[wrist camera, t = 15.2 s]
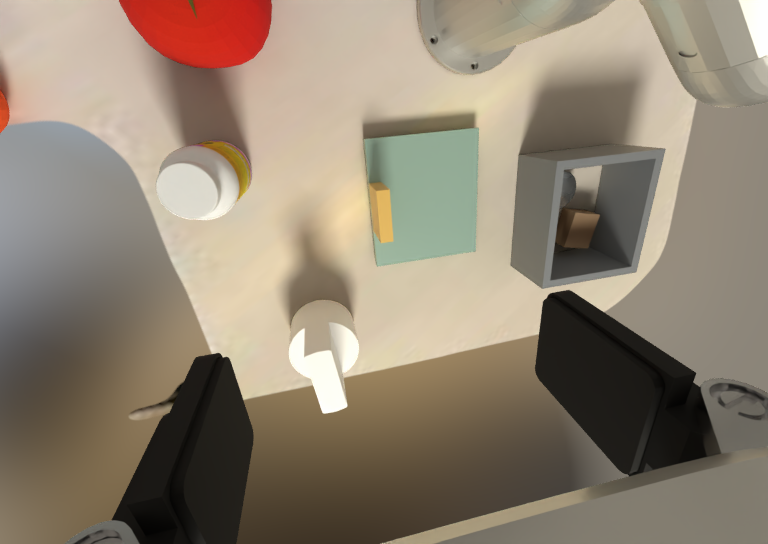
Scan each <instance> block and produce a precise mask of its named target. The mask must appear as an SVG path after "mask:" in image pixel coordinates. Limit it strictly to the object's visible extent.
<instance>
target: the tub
mask: <svg viewBox="0 0 768 544" xmlns="http://www.w3.org/2000/svg"><path fill="white" fill-rule="evenodd" d="M664 153H665V149H664V148H652V147H641V146H630V145H618V144H608V145H600V146H591V147H582V148H573V149H565V150H556V151H547V152H538V153H530V154H521V155H519V159H518V172H517V186H516V200H515V213H514V227H513V240H512V254H511V266H512V267H513V268H515V269H516V270H517V271H519V272H520V273H521V274H523V275H524V276H526V277H527V278H528V279H530V280H531V281H532V282H534V283H535V284H536V285H538V286H539V287H541V288H542V289H544V288H549V287H555V286H561V285H566V284H572V283H578V282H584V281H589V280H595V279H601V278H606V277H612V276H618V275H623V274H629V273H635V272H636V271H637V267H638V263H639V259H640V254H641V250H642V246H643V242H644V237H645V233H646V229H647V225H648V221H649V216H650V212H651V208H652V204H653V199H654V195H655V191H656V187H657V183H658V178H659V174H660V170H661V166H662V162H663V157H664ZM599 165H603V167H602V173H601V178H600V184H599V190H598V196H597V202H596V208H595V213H596V214H599V215H600V216H599V219H598V222H597V225H596V227H595V230H594V233H593V236H592V238H591V241H590V244H589V247H588V248H580V249H573V250H567V251H561V252H555V253H554V246H555V238H556V231H557V223H558V215H559V207H560V199H561V191H562V183H563V175H564V170H567V169H575V168H583V167H591V166H599Z"/></svg>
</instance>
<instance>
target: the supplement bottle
mask: <svg viewBox="0 0 768 544" xmlns="http://www.w3.org/2000/svg"><path fill="white" fill-rule="evenodd" d="M251 180H252V170H251V166H250V163H249V161H248V159H247V157H246V156H245V154H244V153H243V152H242V151H241V150H240V149H238V148H237V147H236V146H234V145H232V144H230V143H228V142H225V141H220V140H212V141H206V142H202V143H198V144H194V145H191V146H187V147H183V148H180V149H177V150H175V151H173V152H172V153H171V154H169V155H168V156H167V157H166V158H165V160H164V161H163V163H162V165H161V167H160V171H159V175H158V178H157V181H156V192H157V195H158V198H159V200H160V202H161V203H162V204H163V206H164V207H165V208H166V209H167V210H168V211H170V212H171V213H172V214H174V215H176V216H178V217H181V218H184V219H197V220H211V219H215V218H218V217H221V216H223V215H224V214H226V213H227V212H228V211H230V209H231V208H232V207H233V206H234V205H235V204H236V202H237V201H238V200H239V199H240V198H241V197H242V196H243V194H244V193H245V192H246V191H247V189H248V188H249V186H250V183H251Z"/></svg>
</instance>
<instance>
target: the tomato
mask: <svg viewBox="0 0 768 544" xmlns="http://www.w3.org/2000/svg"><path fill="white" fill-rule="evenodd" d="M119 2H120V4H121V6H122V8H123V10H124V12H125V13H126V15H127V17H128V19H129V21H130V22H131V24H132V25H133V26H134V28H135V29H136V30H137V31H138V32H139V33H140V35H141V36H142V37H143V38H144V39H145V41H146V42H147V43H148V44H149V45H150V46H152V47H153V48H154V49H155V50H157V51H158V52H159V53H161V54H162V55H163V56H165V57H167V58H170V59H172V60H174V61H176V62H178V63H181V64H185V65H189V66H192V67H198V68H224V67H231V66H236V65H241V64H243V63H245V62H247V61H249V60H251V59H253V58H254V57H255V56H256V55H257V54H258V52H259V51H260V50H261V49H262V47H263V45H264V43H265V41H266V39H267V37H268V34H269V29H270V25H271V13H272V4H271V0H119Z"/></svg>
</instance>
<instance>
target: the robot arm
mask: <svg viewBox="0 0 768 544" xmlns="http://www.w3.org/2000/svg"><path fill="white" fill-rule="evenodd" d="M613 1H614V0H418V2H417V16H418V23H419V29H420V33H421V36H422V38H423V41H424V44H425V45H426V47H427V49H428V51H429V52H430V54H431V55H432V56H433V57H434V59H435V60H436V61H437V62H438V63H439V64H441V65H442V66H443V67H445V68H446V69H448V70H450V71H452V72H454V73H459V74H463V75H472V74H478V73H482V72H485V71H488V70H490V69H492V68H494V67H496V66H497V65H499V64H500V63H501V62H502V61H504V60H505V59H506V58H507V57H508V56H509V55H510V53H511V52H512V51H513V50H514V48H515V47H516V45H518V44H521V43H524V42H527V41H530V40H533V39H536V38H539V37H541V36H544V35H547V34H550V33H553V32H556V31H559V30H562V29H565V28H567V27H570V26H572V25H575V24H578V23H581V22H583V21H585V20H587V19H590V18H591V17H593V16H595V15H597V14H598V13H599V12H601V11H602V10H604V9H605V8H606V7H608V6H609V5H610V4H611V3H612V2H613ZM639 2H640V3H641V4H642V5H643V6H644V8H645V10H646V13H647V15H648V17H649V19H650V21H651V23H652V25H653V27H654V30H655V32H656V34H657V36H658V38H659V40H660V42H661V44H662V47H663V49H664V51H665V53H666V55H667V57H668V59H669V61H670V64H671V65H672V67H673V69H674V71H675V73H676V75H677V77H678V78H679V80H680V82H681V84H682V85H683V87H684V88H685V89H686V91H687V92H688V93H689V94H690V95H691V96H693V97H694V98H695V99H697V100H698V101H700V102H702V103H704V104H707V105H711V106H716V107H743V106H752V105H757V104H762V103H767V102H768V0H639ZM430 39H433V41H434V42H433V44H432V43H431V41H430ZM471 64H472V65H473V69H472V68H471ZM535 371H536V375H537V377H538V379H539V380H540V381H541V382H542V383H543V385H544V386H545V387H546V388H547V389H548V390H549V391H550V393H551V394H552V395H553V396H554V397H555V398H556V399H557V401H558V402H559V403H560V404H561V405H562V406H563V407H564V408H565V410H567V412H568V413H569V414H570V415H571V416H572V418H573V419H574V420H575V421H576V422H577V423H578V424H579V425H580V426H581V428H582V429H583V430H584V431H585V432H586V433H587V434H588V436H589V437H590V438H591V439H592V440H593V441H594V442H595V444H596V445H597V446H598V447H599V448H600V449H601V450H602V451H603V452H604V454H605V455H606V456H607V457H608V458H609V459H610V461H611V462H612V463H613V464H614V465H615V466H616V467H617V468H618V469H619V470H620V471H621V472H622V473H624V474H628V475H629V477H626V478H622V479H618V480H614V481H610V482H607V483H603V484H599V485H595V486H591V487H588V488H584V489H580V490H576V491H573V492H569V493H565V494H561V495H557V496H554V497H550V498H546V499H543V500H539V501H535V502H532V503H528V504H524V505H521V506H517V507H513V508H509V509H506V510H502V511H498V512H495V513H491V514H487V515H484V516H480V517H476V518H473V519H469V520H465V521H462V522H458V523H454V524H451V525H447V526H443V527H440V528H436V529H432V530H429V531H425V532H422V533H418V534H415V535H411V536H407V537H404V538H400V539H396V540H393V541H389V542H386V543H382V544H768V393H767V392H765V391H763V390H761V389H759V388H756V387H754V386H752V385H749V384H747V383H743V382H739V381H735V380H730V379H723V378H720V379H719V378H718V379H709V380H707V381H704V382H703V384H702V385H701V387H699V386H697V385H696V384H695V383H693V381H694V378H695V375H696V373H695V372H694V371H692V370H691V369H689V368H688V367H686V366H685V365H683V364H682V363H680V362H679V361H677V360H676V359H674V358H673V357H671V356H669V355H668V354H666V353H665V352H663V351H662V350H660V349H659V348H657V347H656V346H654V345H653V344H651V343H650V342H648V341H646V340H645V339H643V338H642V337H641V336H639V335H638V334H636V333H634V332H633V331H631V330H630V329H628V328H627V327H625V326H624V325H622V324H621V323H619V322H618V321H616V320H615V319H613V318H612V317H610V316H609V315H607V314H606V313H604V312H603V311H601V310H599V309H598V308H596V307H595V306H593V305H592V304H590V303H589V302H587V301H586V300H584V299H583V298H581V297H580V296H578V295H577V294H575V293H574V292H572V291H570V290H566V291H560V292H555V293H551V294H549V295H548V297H547V299H545V300H544V301H543V306H542V315H541V323H540V332H539V340H538V348H537V357H536V365H535ZM252 446H253V429H252V425H251V422H250V419H249V416H248V413H247V410H246V407H245V404H244V401H243V398H242V395H241V392H240V389H239V386H238V383H237V380H236V377H235V374H234V370H233V367H232V364H231V361H230V359H229V358H228V357H224V358H223V357H222V355H221V354H220V353H216V354H210V355H205V356H199V357H196V358H195V360H194V362H193V364H192V366H191V368H190V370H189V372H188V374H187V376H186V379H185V381H184V383H183V385H182V387H181V389H180V391H179V394H178V396H177V398H176V400H175V402H174V404H173V406H172V409H171V411H170V413H168V414H166V415H164V416H163V418H162V419H161V420H160V422H159V424H158V426H157V428H156V430H155V432H154V434H153V436H152V438H151V440H150V442H149V444H148V447H147V449H146V451H145V453H144V455H143V457H142V459H141V461H140V463H139V465H138V467H137V469H136V471H135V473H134V475H133V478H132V480H131V482H130V484H129V486H128V488H127V490H126V492H125V494H124V496H123V498H122V500H121V502H120V504H119V506H118V508H117V510H116V513H115V514H114V516H113V519H112V521H106V522H101V523H99V524H96V525H94V526H92V527H89V528H87V529H85V530H83V531H82V532H80V533H79V534H77V535H76V536H74V537H72V538H71V539H70V540H69V541H67V542H66V543H65V544H236V542H237V536H238V530H239V524H240V518H241V512H242V506H243V500H244V494H245V488H246V482H247V476H248V470H249V464H250V458H251V452H252Z"/></svg>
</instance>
